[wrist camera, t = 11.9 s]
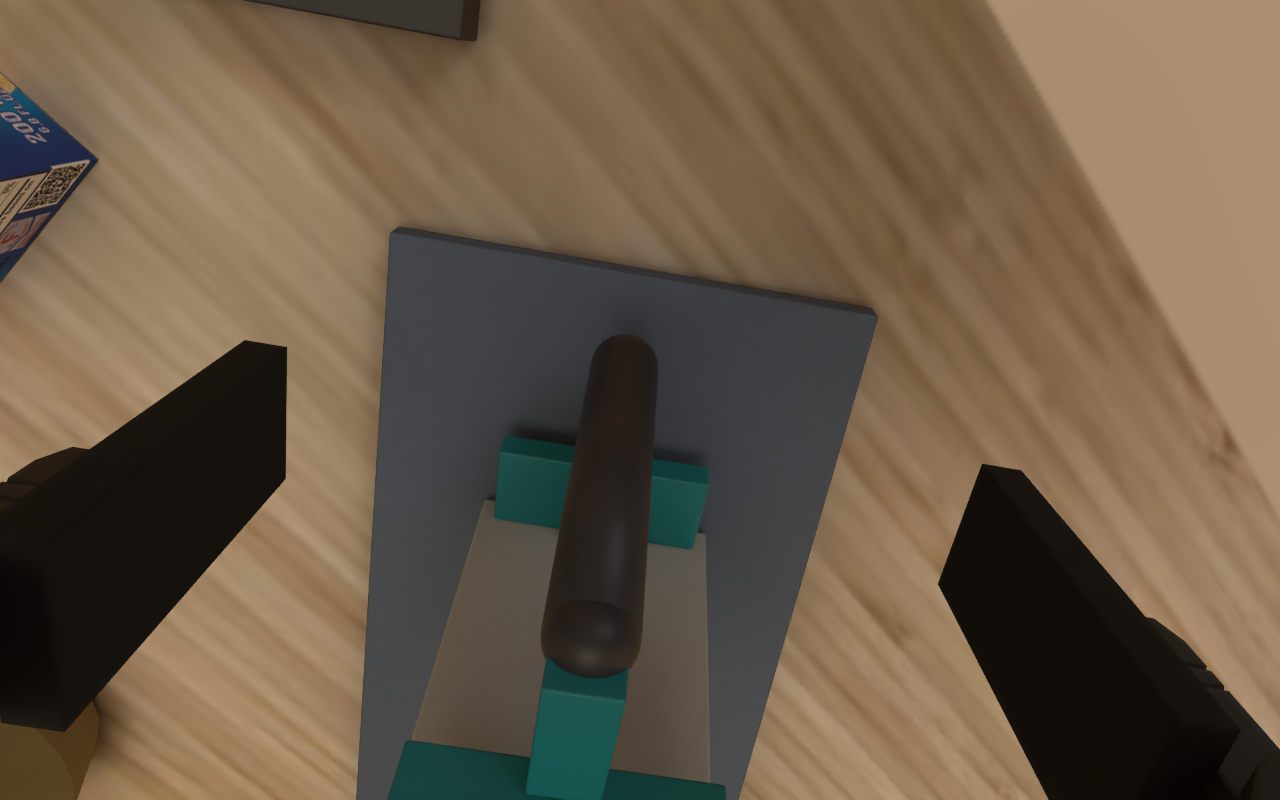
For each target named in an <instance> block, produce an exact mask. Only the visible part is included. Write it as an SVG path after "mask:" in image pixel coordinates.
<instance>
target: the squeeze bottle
mask: <svg viewBox="0 0 1280 800" xmlns="http://www.w3.org/2000/svg"><path fill="white" fill-rule="evenodd" d="M99 720H100V718H99V715H98V713H97V711H96V708H95V706H94V703H93V701H91V703H90V704H89V705H88V706H87V707H86V708H85V709H84V711H83V712H82V713H81V714H80V715H79V716H78V718H77V719H76V720H75V721H74V722H73V723H72V724H71V726H70V727H69V728H68V729H67V730H66V731H65V732H59V731H52V730H45V729H38V728H31V727H25V726H18V725H11V724H4V723H1V719H0V800H77V799H78V796H79V793H80V790H81V787H82V784H83V781H84V778H85V775H86V772H87V769H88V766H89V763H90V760H91V757H92V754H93V751H94V748H95V745H96V742H97V739H98V730H99Z"/></svg>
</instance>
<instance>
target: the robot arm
mask: <svg viewBox="0 0 1280 800" xmlns="http://www.w3.org/2000/svg"><path fill="white" fill-rule="evenodd" d="M286 394H287V347H283V346H277V345H271V344H265V343H259V342H253V341H247V340H244V341H243V342H242V343H240V344H239V345H237V346H236V347H234V348H233V349H232V350H230V351H229V352H227V353H226V354H225V355H223V356H222V357H220V358H219V359H217V360H216V361H215V362H213V363H212V364H210V365H209V366H207V367H206V368H205V369H203V370H202V371H200V372H199V373H197V374H196V375H195V376H193V377H192V378H190V379H189V380H188V381H186V382H185V383H183V384H182V385H180V386H179V387H178V388H176V389H175V390H173V391H172V392H170V393H169V394H168V395H166V396H165V397H163V398H162V399H160V400H159V401H158V402H156V403H155V404H153V405H152V406H151V407H149V408H148V409H146V410H145V411H143V412H142V413H141V414H139V415H138V416H136V417H135V418H133V419H132V420H131V421H129V422H128V423H126V424H125V425H123V426H122V427H121V428H119V429H118V430H116V431H115V432H114V433H112V434H111V435H109V436H108V437H106V438H105V439H104V440H102V441H101V442H99V443H98V444H96V445H95V446H94V447H92V448H91V449H83V448H77V447H71V448H68V449H65V450H62V451H60V452H57V453H54V454H51V455H48V456H45V457H43V458H40V459H37V460H35V461H33V462H32V463H30V464H28V465H27V466H25V467H24V468H22V469H21V470H19V471H18V472H16V473H15V474H13V475H12V476H10V477H9V478H8V480H7V482H1V483H0V719H1V723H4V724H11V725H18V726H25V727H31V728H38V729H45V730H52V731H59V732H65V731H66V730H67V729H68V728H69V727H70V726H71V724H72V723H73V722H74V721H75V720H76V719H77V718H78V716H79V715H80V714H81V713H82V712H83V711H84V709H85V708H86V707H87V706H88V705H89V704H90V703H91V701H92V700H93V699H94V698H95V697H96V696H97V695H98V693H99V692H100V691H101V690H102V689H103V688H104V687H105V685H106V684H107V683H108V682H109V681H110V680H111V679H112V677H113V676H114V675H115V674H116V673H117V672H118V671H119V669H120V668H121V667H122V666H123V665H124V664H125V662H126V661H127V660H128V659H129V658H130V657H131V656H132V654H133V653H134V652H135V651H136V650H137V649H138V648H139V646H140V645H141V644H142V643H143V642H144V641H145V640H146V638H147V637H148V636H149V635H150V634H151V633H152V632H153V630H154V629H155V628H156V627H157V626H158V625H159V623H160V622H161V621H162V620H163V619H164V618H165V617H166V615H167V614H168V613H169V612H170V611H171V610H172V609H173V607H174V606H175V605H176V604H177V603H178V602H179V601H180V599H181V598H182V597H183V596H184V595H185V594H186V593H187V591H188V590H189V589H190V588H191V587H192V586H193V584H194V583H195V582H196V581H197V580H198V579H199V578H200V576H201V575H202V574H203V573H204V572H205V571H206V570H207V568H208V567H209V566H210V565H211V564H212V563H213V562H214V560H215V559H216V558H217V557H218V556H219V555H220V554H221V552H222V551H223V550H224V549H225V548H226V547H227V546H228V544H229V543H230V542H231V541H232V540H233V539H234V537H235V536H236V535H237V534H238V533H239V532H240V531H241V529H242V528H243V527H244V526H245V525H246V524H247V523H248V521H249V520H250V519H251V518H252V517H253V516H254V515H255V513H256V512H257V511H258V510H259V509H260V508H261V507H262V505H263V504H264V503H265V502H266V501H267V500H268V498H269V497H270V496H271V495H272V494H273V493H274V492H275V490H276V489H277V488H278V487H279V486H280V485H281V484H282V482H283V481H284V480H285V479H286ZM938 585H939V587H940V589H941V591H942V593H943V595H944V597H945V599H946V601H947V603H948V605H949V606H950V608H951V610H952V612H953V614H954V616H955V618H956V620H957V622H958V624H959V626H960V628H961V630H962V632H963V634H964V636H965V638H966V640H967V642H968V644H969V645H970V647H971V649H972V651H973V653H974V655H975V657H976V659H977V661H978V663H979V665H980V667H981V669H982V671H983V673H984V675H985V677H986V679H987V681H988V682H989V684H990V686H991V688H992V690H993V692H994V694H995V696H996V698H997V700H998V702H999V704H1000V706H1001V708H1002V710H1003V712H1004V714H1005V716H1006V718H1007V719H1008V721H1009V723H1010V725H1011V727H1012V729H1013V731H1014V733H1015V735H1016V737H1017V739H1018V741H1019V743H1020V745H1021V747H1022V749H1023V751H1024V753H1025V755H1026V756H1027V758H1028V760H1029V762H1030V764H1031V766H1032V768H1033V770H1034V772H1035V774H1036V776H1037V778H1038V780H1039V782H1040V784H1041V786H1042V788H1043V790H1044V792H1045V793H1046V795H1047V797H1048V799H1049V800H1280V749H1279V748H1278V747H1277V746H1276V744H1275V743H1274V742H1273V741H1272V740H1271V739H1270V738H1269V737H1268V735H1267V734H1266V733H1265V732H1264V731H1263V730H1262V729H1261V727H1260V726H1259V725H1258V724H1257V723H1256V722H1255V721H1254V719H1253V718H1252V717H1251V716H1250V715H1249V714H1248V713H1247V712H1246V710H1245V709H1244V708H1243V707H1242V706H1241V705H1240V704H1239V702H1238V701H1237V700H1236V699H1235V698H1234V697H1233V696H1232V694H1231V693H1230V692H1229V691H1224V685H1223V684H1222V683H1221V682H1220V681H1219V680H1218V679H1217V677H1216V676H1215V675H1214V674H1213V673H1212V672H1211V671H1208V670H1206V667H1207V666H1206V665H1205V664H1204V663H1203V661H1202V660H1201V659H1200V658H1199V657H1198V656H1197V655H1196V653H1195V652H1194V651H1193V650H1192V649H1191V648H1190V647H1189V646H1188V644H1187V643H1186V642H1185V641H1183V640H1182V639H1181V638H1179V637H1178V636H1177V635H1175V634H1174V633H1173V632H1171V631H1170V630H1169V629H1167V628H1166V627H1165V626H1163V625H1162V624H1161V623H1159V622H1158V621H1157V620H1155V619H1153V618H1147V617H1145V616H1144V615H1143V613H1142V612H1141V611H1140V610H1139V609H1138V608H1137V606H1136V605H1135V604H1134V603H1133V602H1132V601H1131V599H1130V598H1129V597H1128V596H1127V595H1126V593H1125V592H1124V591H1123V590H1122V589H1121V588H1120V586H1119V585H1118V584H1117V583H1116V582H1115V580H1114V579H1113V578H1112V577H1111V576H1110V575H1109V573H1108V572H1107V571H1106V570H1105V569H1104V567H1103V566H1102V565H1101V564H1100V563H1099V562H1098V560H1097V559H1096V558H1095V557H1094V556H1093V555H1092V553H1091V552H1090V551H1089V550H1088V549H1087V547H1086V546H1085V545H1084V544H1083V543H1082V542H1081V540H1080V539H1079V538H1078V537H1077V536H1076V534H1075V533H1074V532H1073V531H1072V530H1071V529H1070V527H1069V526H1068V525H1067V524H1066V523H1065V521H1064V520H1063V519H1062V518H1061V517H1060V516H1059V514H1058V513H1057V512H1056V511H1055V510H1054V509H1053V507H1052V506H1051V505H1050V504H1049V503H1048V501H1047V500H1046V499H1045V498H1044V497H1043V496H1042V494H1041V493H1040V492H1039V491H1038V490H1037V488H1036V487H1035V486H1034V485H1033V484H1032V483H1031V481H1030V480H1029V479H1028V478H1027V477H1026V475H1025V474H1024V473H1023V472H1022V471H1021V470H1016V469H1010V468H1004V467H998V466H992V465H986V464H982V466H981V468H980V471H979V474H978V476H977V479H976V482H975V485H974V487H973V490H972V493H971V495H970V498H969V501H968V504H967V506H966V509H965V512H964V515H963V517H962V520H961V523H960V525H959V528H958V531H957V534H956V536H955V539H954V542H953V544H952V547H951V550H950V553H949V555H948V558H947V561H946V563H945V566H944V569H943V572H942V574H941V577H940V580H939V583H938Z"/></svg>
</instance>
